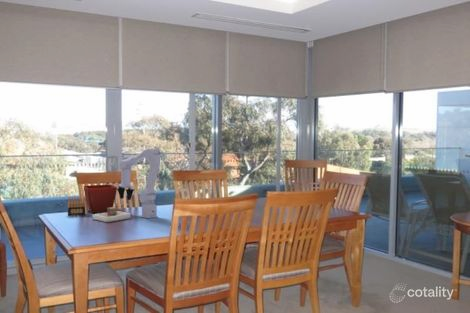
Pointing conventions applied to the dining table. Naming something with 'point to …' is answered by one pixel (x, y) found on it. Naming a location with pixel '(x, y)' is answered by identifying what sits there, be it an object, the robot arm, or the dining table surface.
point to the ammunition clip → (72, 207)
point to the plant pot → (100, 197)
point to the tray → (111, 217)
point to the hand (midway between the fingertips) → (125, 199)
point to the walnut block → (111, 211)
